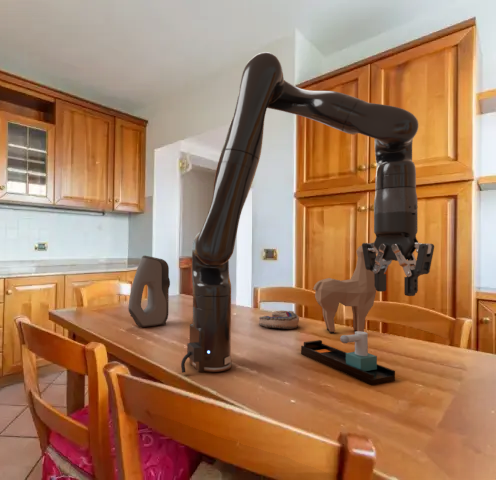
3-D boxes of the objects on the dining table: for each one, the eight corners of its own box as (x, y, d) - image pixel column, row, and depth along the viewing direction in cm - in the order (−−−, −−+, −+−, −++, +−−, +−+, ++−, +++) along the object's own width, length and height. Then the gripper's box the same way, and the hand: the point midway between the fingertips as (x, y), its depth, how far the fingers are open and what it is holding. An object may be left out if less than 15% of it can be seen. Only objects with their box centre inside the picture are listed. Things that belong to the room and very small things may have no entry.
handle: (349, 374, 72) (349, 337, 72) (334, 367, 76) (334, 332, 76) (377, 369, 75) (377, 333, 75) (361, 363, 79) (361, 329, 79)
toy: (384, 337, 105) (384, 242, 105) (316, 334, 109) (316, 242, 109) (373, 330, 114) (373, 242, 114) (310, 327, 118) (310, 242, 118)
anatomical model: (252, 325, 120) (252, 312, 120) (279, 319, 130) (279, 307, 130) (281, 332, 110) (281, 318, 110) (308, 325, 120) (308, 312, 120)
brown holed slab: (170, 324, 121) (170, 255, 121) (132, 330, 112) (133, 256, 112) (161, 321, 126) (161, 254, 126) (124, 326, 117) (125, 255, 117)
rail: (371, 385, 70) (371, 370, 70) (301, 353, 89) (301, 342, 89) (395, 380, 72) (395, 366, 72) (321, 351, 92) (321, 339, 92)
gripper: (352, 213, 74) (351, 289, 74) (418, 207, 61) (418, 300, 61) (376, 214, 77) (376, 288, 77) (445, 209, 64) (445, 297, 63)
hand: (395, 293), depth 69 cm, fingers open, 5 cm apart
